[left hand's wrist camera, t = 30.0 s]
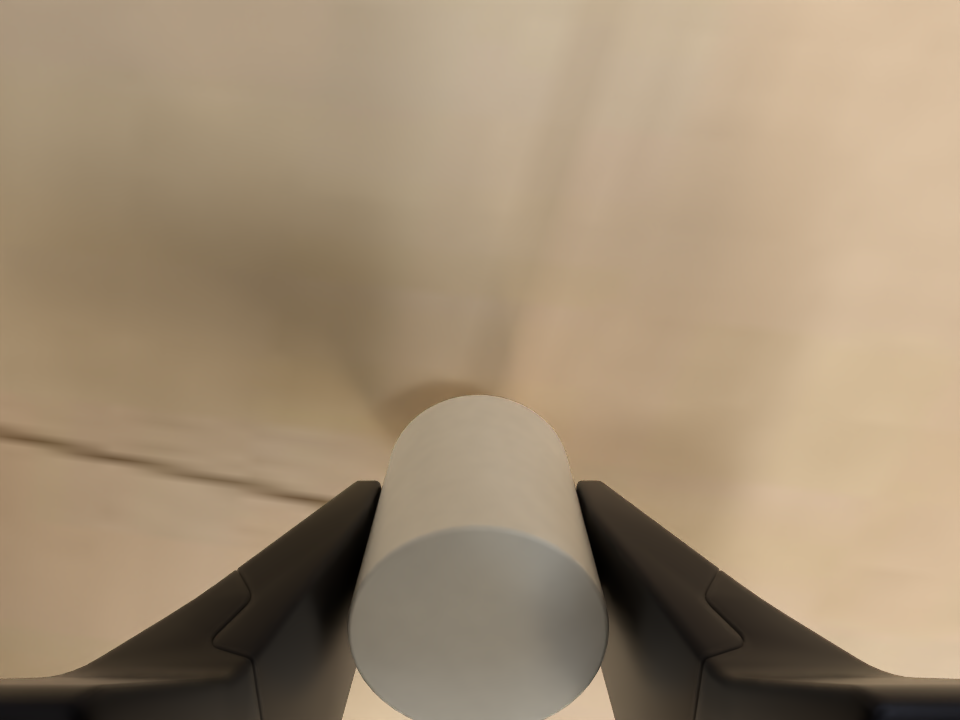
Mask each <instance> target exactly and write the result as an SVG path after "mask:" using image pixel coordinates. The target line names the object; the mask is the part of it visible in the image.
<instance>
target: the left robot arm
mask: <svg viewBox="0 0 960 720" xmlns="http://www.w3.org/2000/svg"><path fill="white" fill-rule="evenodd" d="M576 492H577V496H578V500H579V503H580V507H581V511H582V515H583V519H584V523H585V526H586V530H587V534H588V538H589V542H590V545H591V549H592V553H593V557H594V561H595V564H596V568H597V572H598V576H599V580H600V583H601V587H602V591H603V595H604V599H605V602H606V607H607V611H608V616H609V637H608V645H607V648H606V652H605V655H604V659H603V661H602V663H601V669H602V672H603V676H604V680H605V683H606V687H607V691H608V695H609V698H610V702H611V706H612V709H613V713H614V717H615V720H960V679H940V678H912V677H903V676H898V675H894V674H891V673H888V672H884V671H881V670H879V669H877V668H875V667H872V666H870V665H868V664H866V663H864V662H863V661H861V660H859V659H857V658H856V657H854V656H852V655H851V654H849V653H848V652H846V651H844V650H843V649H841V648H839V647H838V646H836V645H835V644H833V643H831V642H830V641H828V640H826V639H825V638H823V637H821V636H820V635H818V634H817V633H815V632H813V631H812V630H810V629H808V628H807V627H805V626H804V625H802V624H800V623H799V622H797V621H795V620H794V619H792V618H791V617H789V616H787V615H786V614H784V613H783V612H781V611H780V610H778V609H776V608H775V607H773V606H772V605H770V604H769V603H767V602H766V601H764V600H762V599H761V598H759V597H758V596H757V595H755V594H754V593H752V592H751V591H749V590H748V589H747V588H745V587H744V586H742V585H741V584H739V583H738V582H737V581H735V580H734V579H733V578H731V577H730V576H729V575H727V574H726V573H724V572H723V571H719V568H717V567H716V566H715V565H713V564H712V563H711V562H709V561H708V560H707V559H705V558H704V557H703V556H701V555H700V554H699V553H697V552H696V551H694V550H693V549H692V548H690V547H689V546H688V545H686V544H685V543H684V542H682V541H681V540H680V539H678V538H677V537H676V536H674V535H673V534H672V533H670V532H669V531H667V530H666V529H665V528H663V527H662V526H661V525H659V524H658V523H657V522H655V521H654V520H653V519H651V518H650V517H649V516H647V515H646V514H644V513H643V512H642V511H640V510H639V509H638V508H636V507H635V506H634V505H632V504H631V503H630V502H628V501H627V500H626V499H624V498H623V497H621V496H620V495H619V494H617V493H616V492H615V491H613V490H612V489H611V488H609V487H608V486H607V485H605V484H604V483H603V482H601V481H579V482H578V484H577V488H576ZM380 494H381V485H380V483H379V482H378V481H357V482H355V483H354V484H352V485H351V486H350V487H348V488H347V489H345V490H344V491H343V492H341V493H340V494H339V495H337V496H336V497H335V498H333V499H332V500H330V501H329V502H328V503H326V504H325V505H324V506H322V507H321V508H320V509H318V510H317V511H315V512H314V513H313V514H311V515H310V516H309V517H307V518H306V519H305V520H303V521H302V522H300V523H299V524H298V525H296V526H295V527H294V528H292V529H291V530H290V531H288V532H287V533H286V534H284V535H283V536H281V537H280V538H279V539H277V540H276V541H275V542H273V543H272V544H271V545H269V546H268V547H266V548H265V549H264V550H262V551H261V552H260V553H258V554H257V555H256V556H254V557H253V558H251V559H250V560H249V561H247V562H246V563H245V564H243V565H242V566H241V567H239V568H238V570H237V571H233V572H232V573H231V574H229V575H228V576H227V577H225V578H224V579H223V580H221V581H220V582H218V583H217V584H216V585H214V586H213V587H211V588H210V589H208V590H207V591H206V592H204V593H203V594H201V595H200V596H198V597H197V598H195V599H194V600H192V601H191V602H189V603H188V604H186V605H185V606H183V607H181V608H180V609H178V610H177V611H175V612H174V613H172V614H170V615H169V616H167V617H166V618H164V619H162V620H161V621H159V622H157V623H156V624H154V625H152V626H151V627H149V628H148V629H146V630H144V631H143V632H141V633H139V634H138V635H136V636H134V637H133V638H131V639H129V640H128V641H126V642H125V643H123V644H121V645H120V646H118V647H116V648H115V649H113V650H111V651H110V652H108V653H107V654H105V655H103V656H102V657H100V658H98V659H97V660H95V661H93V662H91V663H89V664H88V665H86V666H83V667H81V668H79V669H76V670H74V671H71V672H68V673H65V674H62V675H57V676H52V677H43V678H15V679H0V720H342V717H343V713H344V710H345V706H346V702H347V699H348V695H349V691H350V688H351V684H352V680H353V677H354V673H355V669H356V665H355V662H354V660H353V657H352V654H351V651H350V646H349V642H348V633H347V621H348V612H349V608H350V604H351V601H352V597H353V593H354V590H355V586H356V582H357V579H358V575H359V571H360V568H361V564H362V560H363V556H364V553H365V549H366V545H367V542H368V538H369V534H370V531H371V527H372V523H373V520H374V516H375V512H376V508H377V505H378V501H379V497H380Z"/></svg>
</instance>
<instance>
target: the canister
mask: <svg viewBox="0 0 960 720" xmlns="http://www.w3.org/2000/svg"><path fill="white" fill-rule="evenodd" d="M347 633H348V642H349V646H350V651H351V654H352V657H353V660H354V662H355V665H356V667H357V669H358V671H359V672H360V674H361V676H362V678H363V679H364V681H365V682H366V683H367V684H368V686H369V687H370V688H371V689H372V691H373V692H374V693H375V694H376V695H377V696H378V697H380V698H381V699H382V700H383V701H384V702H385V703H387V704H388V705H389V706H391V707H392V708H393V709H395V710H396V711H398V712H400V713H401V714H403V715H405V716H406V717H408V718H411V719H413V720H544V719H546V718H548V717H550V716H552V715H554V714H555V713H557V712H559V711H560V710H562V709H563V708H565V707H566V706H568V705H569V704H570V703H571V702H573V701H574V700H575V699H576V698H577V697H578V696H579V695H580V694H581V693H582V692H583V691H584V690H585V689H586V688H587V686H588V685H589V684H590V683H591V681H592V680H593V678H594V677H595V675H596V674H597V672H598V670H599V668H600V666H601V663H602V661H603V659H604V655H605V652H606V648H607V645H608V637H609V616H608V611H607V607H606V602H605V599H604V595H603V591H602V587H601V583H600V580H599V576H598V572H597V568H596V564H595V561H594V557H593V553H592V549H591V545H590V542H589V538H588V534H587V530H586V526H585V523H584V519H583V515H582V511H581V507H580V503H579V500H578V496H577V492H576V488H575V484H574V481H573V477H572V473H571V469H570V465H569V462H568V458H567V454H566V451H565V449H564V446H563V444H562V442H561V440H560V438H559V437H558V435H557V433H556V432H555V431H554V430H553V428H552V427H551V426H550V425H549V424H548V423H547V422H546V421H545V420H544V419H543V418H542V417H541V416H540V415H538V414H537V413H536V412H534V411H533V410H531V409H529V408H528V407H526V406H524V405H522V404H520V403H517V402H515V401H512V400H509V399H505V398H502V397H497V396H490V395H468V396H460V397H456V398H452V399H448V400H445V401H443V402H440V403H438V404H436V405H434V406H432V407H430V408H428V409H426V410H425V411H423V412H422V413H421V414H419V415H418V416H417V417H416V418H414V419H413V420H412V421H411V422H410V423H409V424H408V425H407V427H406V428H405V429H404V430H403V431H402V433H401V434H400V436H399V438H398V439H397V441H396V443H395V445H394V448H393V450H392V453H391V457H390V460H389V464H388V468H387V472H386V475H385V479H384V483H383V486H382V490H381V494H380V497H379V501H378V505H377V508H376V512H375V516H374V520H373V523H372V527H371V531H370V534H369V538H368V542H367V545H366V549H365V553H364V556H363V560H362V564H361V568H360V571H359V575H358V579H357V582H356V586H355V590H354V593H353V597H352V601H351V604H350V608H349V612H348V621H347Z"/></svg>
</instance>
